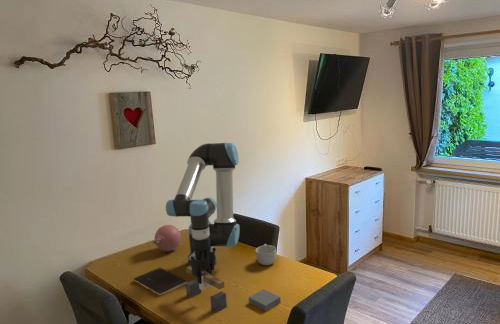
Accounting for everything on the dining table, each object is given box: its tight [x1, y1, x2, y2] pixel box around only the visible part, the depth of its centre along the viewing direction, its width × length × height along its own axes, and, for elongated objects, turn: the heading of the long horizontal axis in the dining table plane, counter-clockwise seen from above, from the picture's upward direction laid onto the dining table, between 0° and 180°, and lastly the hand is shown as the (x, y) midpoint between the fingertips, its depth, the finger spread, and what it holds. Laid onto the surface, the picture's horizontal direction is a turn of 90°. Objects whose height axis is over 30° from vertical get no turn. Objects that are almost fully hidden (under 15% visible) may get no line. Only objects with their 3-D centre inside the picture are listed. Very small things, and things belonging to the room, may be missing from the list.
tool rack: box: [185, 278, 228, 314], centre depth 168 cm, size 21×6×6 cm, turn 44°
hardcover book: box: [133, 267, 189, 296], centre depth 188 cm, size 16×23×2 cm
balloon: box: [151, 224, 182, 252], centre depth 223 cm, size 15×20×15 cm
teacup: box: [254, 243, 277, 266], centre depth 204 cm, size 14×11×8 cm
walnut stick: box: [185, 265, 225, 290], centre depth 166 cm, size 24×2×2 cm, turn 44°
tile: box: [248, 288, 282, 312], centre depth 164 cm, size 3×9×10 cm
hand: (205, 288), depth 167 cm, fingers closed on walnut stick, 2 cm apart
